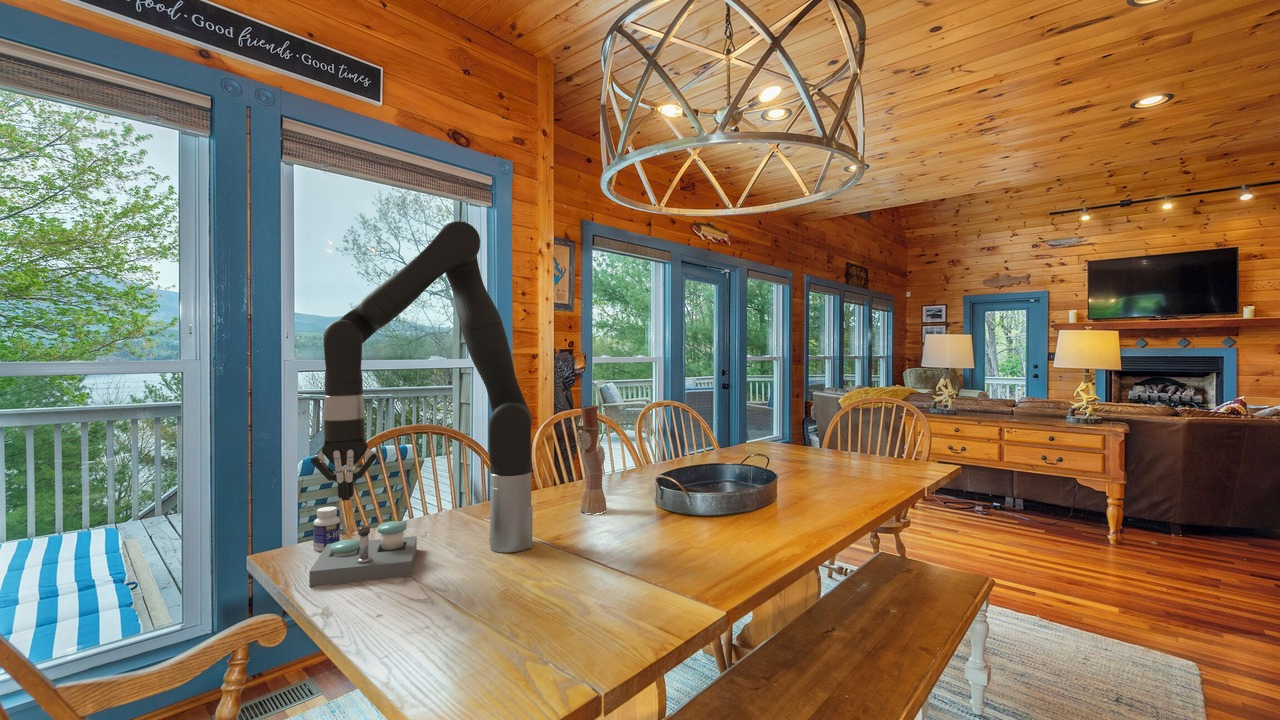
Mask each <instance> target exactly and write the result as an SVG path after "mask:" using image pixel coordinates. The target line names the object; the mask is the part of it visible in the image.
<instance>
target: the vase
mask: <svg viewBox="0 0 1280 720" xmlns="http://www.w3.org/2000/svg"><path fill="white" fill-rule="evenodd" d="M599 408H600V407H599V405H598V404H594V405H591V406H582V407H581V409H580V410H581V417H582V418H581V419H582V426H583V428H582V429H580V430H578V431H577V433H576V445H577V446H578V448H579V449H580V455H581V459H582V462H583V466H584V469H585V481H586V482H585V489H584V492H583V495H582V498H581V502H580V510H581V511H582V512H584V513H591V514H596V513H601V512H604V511H606V510H607V501H606V496H605V493H604V489H603V468H602V467H603V465H604V464H605V463H604V462H605V459H606V453H605V449H604V447H603V446H602V445H598V438H599V432H600V431H599V430H600V423H599V418H598V410H599ZM581 511H580V512H581ZM582 512H581V513H582ZM606 512H607V511H606Z"/></svg>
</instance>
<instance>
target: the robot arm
mask: <svg viewBox="0 0 1280 720" xmlns="http://www.w3.org/2000/svg"><path fill="white" fill-rule="evenodd" d="M480 249H481V238H480V234H479V232H478V231H477V229H476V228H475V227H474V226H473V225H472V224H470V223H468V222H465V221H463V220H462V221H461V220H460V221H459V220H456V221H451V222H449V223H447V224H446V225H444V226H443V227H442V228H441V229H440V230H439V232H438V234H437V235H435V236H434V238H433V239H432V240H431V242H430V243H429V244H428V245H427V246H426V247H424V249H423V250H422V251H421V252H420V253H419V254H417V256H415V257H414V258H413V259H412V260H411V261H409V262H408V264H406V265H405V266H403V267H402V268H401V269H400V270H398V271H397V272H396V273H394V274H393V275H392V276H390V277H389V278H387V279H386V280H385V281H384V282H382V283H381V284H380V285H379V286H377V287H376V288H375V289H373V290H372V291H371V292H369V293H368V294H367V295H366V296H365V297H363V298H362V299H361V300H360V301H359V302H358V303H357V305H355V307H353V308H352V309H351V310H349V311H348V312H347V313H345V314H344V315H342V316H341V317H339V319H337V320H335V321H332V322H331V323H330V324H328V325H327V326H326V328H325V329H324V331H323V336H322V338H323V351H324V363H325V372H324V402H323V413H322V417H323V433H324V435H323V436H324V439H323V446H322V447H321V451H320V452H319V453H318V454H317V455H314V456H313V457H311V459H310V463H311V465H313V466H314V467H315V468H316V470H318V471H319V472H320V474H322V475H323V476H324V478H326V480H328V481H330V482H331V481H332V482H335V483H337V497H338V498H339V499H341V501H351V499H352V498H353V497H354V495H355V481H356V480H359V479H361V478H362V477H363V476H364V475H365V473H366V472H367V471H368V470H369V469H370V468H371V466H372V464H373V463H374V462H375V461H376V459H377V458H378V457H379V453H378V452H376V451H375V452H374V451H373V450H371V449H369V445H368V443H367V441H366V428H365V426H366V423H365V421H366V417H365V401H364V395H363V393H364V390H363V389H364V387H363V385H364V383H363V373H362V360H363V359H362V358H363V357H362V356H363V344H364V343H365V342H366V341H367V340H369V338H370V337H372V336H373V335H374V334H375V333H376V332H378V330H380V329H381V328H383V327H385V326H386V325H388V324H389V323H390V322H392V321H393V320H394V319H395V318H396V317H398V316H399V315H400V314H401V313H403V312H404V311H406V309H407V308H408V307H409V306H411V304H413V303H414V302H415V301H416V299H418V298H419V297H420V296H421V295H422V294H423V292H425V291H426V289H428V288H429V287H430V286H431V285H432V284H433V283H434V282H435V281H436V280H438V279H439V278H440V277H442V276H443V275H445V276H446V278H447V281H448V283H449V286H450V288H451V290H452V291H451V292H452V295H453V299H454V305H455V309H456V313H457V318H458V321H459V325H460V328H461V333H462V336H463V339H464V342H465V345H466V348H467V351H468V354H469V356H470V358H471V361H472V363H473V364H474V367H475V369H476V371H477V373H478V374H479V376H480V378H481V380H482V382H483V383H484V386H485V388H486V393H487V396H488V399H489V400H488V401H489V404H490V409H491V416H490V418H489V422H488V457H489V459H488V460H489V465H490V471H489V473H490V474H489V475H490V477H489V478H490V480H489V481H490V482H489V483H490V484H489V485H490V487H489V488H490V489H489V492H490V493H489V494H490V495H489V500H490V501H489V503H490V506H489V507H490V508H489V509H490V510H489V515H490V516H489V520H490V521H489V535H490V536H489V545H490V546H489V548H490V550H491V551H493V552H498V553H516V552H522V551H525V550H528V549H533V520H534V519H533V515H534V514H533V511H534V509H533V505H532V450H531V449H532V426H533V417H532V412H531V410H530V409H529V407H528V405H527V402H526V399H525V398H524V395H523V393H522V391H521V388H520V385H519V383H518V380H517V377H516V372H515V367H514V366H515V365H514V362H513V356H512V353H511V347H510V345H509V340H508V336H507V333H506V331H505V326H504V324H503V320H502V318H501V315H500V313H499V311H498V308H497V307H496V305H495V303H494V301H493V299H492V298H491V296H490V294H489V292H488V291H487V289H486V286H485V285H484V281H483V278H482V275H481V271H480V266H479V261H478V255H479V251H480ZM364 455H365V456H364ZM363 456H364V460H365V463H364V464H363V465H362V466H361V467H360V469H359V470H358V471H357V472H356V464H357V463H358V462H360V460H361V459H362V457H363ZM326 460H328V461H329V462H330V463H331V465H333V466H334V471H335V472H334V471H333V469H332V468H331V467H330V466H329V465H328V464H327V463H326ZM345 468H346V469H345Z"/></svg>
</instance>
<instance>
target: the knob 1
mask: <svg viewBox="0 0 1280 720" xmlns="http://www.w3.org/2000/svg"><path fill="white" fill-rule="evenodd" d="M359 548H360V539H343V540H340V541H338V542H335V543H333V544H331V545H330V552H332V553H334V556H344V555H355V554H357V550H358V549H359Z"/></svg>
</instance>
